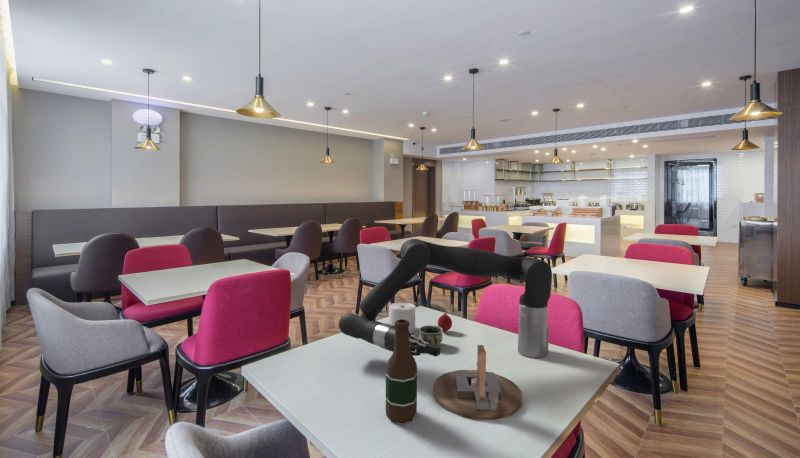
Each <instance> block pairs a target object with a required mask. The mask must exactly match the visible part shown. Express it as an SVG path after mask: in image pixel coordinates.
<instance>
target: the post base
mask: <svg viewBox="0 0 800 458" xmlns="http://www.w3.org/2000/svg"><path fill="white" fill-rule="evenodd" d="M454 371H455V370H452V371H449V372H446V373H443V374H442V375H441V374H440V375H439V376H438V377H437V378H436V379H435V381H433V385H432V395H433V398H434V401H435V402H436V403H437V404H438V405H439V406H440V407H441V408H443V409H444V410H446V411H448V412H449V413H450V412H451V414H455V415H457V416H460V417H464V418H466V419H467V418H468V419H473V420H481V421H482V420H483V421H487V420H489V421H491V420H499V419H505V418H508V417H511V416H512V415H515V414H516V413H517V412H518V411H519V410H520V409H521V407H522V405H523V392H522V390H521V389H520V387H519V386H518V385H517V384H516V383H515V382H513V381H512V380H510V379H508V378H507V377H505V376H502V375H500V374H497V373H495V376H496V378H497V381H498V383H499V386H500V388H501V391H502V400H498V393H497V392H495V391H490V392H488V401H489V411H485V410H477V409H476V405H475V401H474V399H464V398H457V392H456V386H455V380H454ZM456 371H466V372H477V369H457V370H456ZM469 385H473V386H477V378H473V379H471V384H469Z"/></svg>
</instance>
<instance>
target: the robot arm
mask: <svg viewBox="0 0 800 458" xmlns="http://www.w3.org/2000/svg"><path fill="white" fill-rule="evenodd" d="M399 251H400V257H401V258H400V260H399V261H398V263H397V265H396V266H395V267H394V269H393V270H392V271H391V272H389V274H387V275H386V276H385V277H384V278H383V279H381V281H379V282H378V283H377V284H375V286H373V288H371V290H370V291H369V292H368V293H367V294H366V296H365V297H364V298H363V299H362V300H361V302H360V303H359V308H360V310H361V311H362V313H361V314H360V315H359V314H358V315H357V314H356V313H345V314H344V315H342V316H341V317H340V319H339V321H338V329H339V331H340V332H341V333H342V334H343V335H345V336H348V337H352V338H355V339H357V340H358V339H359V340H363V341H364V342H367V343H369V344H372V345H375V346H377V347H379V348H381V349H384V350H387V351H389V352H392V353H393V350H394V341H395V326H394V325H392V324H389V323H386V322H385V323H384V322H380V321H378V320H377V317H378V315H379V314H380V313H381V312H382V311H383V310H384V308H385V307H387V304H388V305H389V303H390V302H391V300H392V299H393V298H394V297H395V296H396V295H397V293H398V292H400V290H402V288H403V287H404V286H405V285H406V284H408V283H409V281H411V280H412V279H413V278H414V277H416V276H417V275H418V274H419V273H420V272H421V271H423V270H424V269H426V267H427V266H434V267H435V266H436V267H441V268H444V269H447V270H449V271H452V272H454V273H458V274H460V275H461V274H462V275H465V276H470V277H476V278H495V277H506V278H509V279H510V278H511V279H516V280H519V281H521V282H524V283H525V285H524V292H523V293H522V294H521V295H520V296H519V303H518V304H519V307H518V309H519V310H518V334H517V336H518V337H517V352H518V353H519V354H520V355H521V356H525V357H526V358H527V357H528V358H533V359H534V358H535V359H537V358H543V357H546V355H549V338H550V337H549V336H550V327H549V326H548V303H549V300H550V298H551V293H552V282H553V272H552V271H553V270H552V268H551V265H550V264H549V263H548V262H547V261H545V260H542V259H539V258H537V257H530V256H511V255H510V256H509V255H504V254H501V253H496V252H494V251H488V250H484V249H478V248H472V247H471V248H470V247H465V246H463V247H462V246H453V245H443V244H436V243H432V242H431V241H425V240H422V239H418V238H410V239H408V240H406V241H404V242H403V243H402V245H401V247H400V249H399ZM409 346H410V352H411V354H412V356H413V357H415V356H416V357H417V356H418V357H419V356H421V355H426V354H427V355H428V356H429V355H430V356H433V357H438V356H440V355H441V347H440V348H439V347H436V346H433V345H431V340H430V339H429V337H428V336H427V335H425V334H424V335H423V336H422V337H419V335H415V334H412V333H409Z"/></svg>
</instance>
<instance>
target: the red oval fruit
mask: <svg viewBox="0 0 800 458" xmlns="http://www.w3.org/2000/svg"><path fill="white" fill-rule="evenodd" d="M451 318H452V317H450V316H449V315H448V313H447V312H444V313H443V314H442V315H441V316H440V317H439V318H438V320H437V326H438V327H441V328H442V329H443V330H442V333H446V332H448V331H449V330H450V329H451V328H452V326H453V320H452V319H451Z"/></svg>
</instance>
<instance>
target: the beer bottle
mask: <svg viewBox="0 0 800 458" xmlns="http://www.w3.org/2000/svg"><path fill="white" fill-rule="evenodd" d="M409 325H410V324H409V321H407V320H403V319H401V320H397V321H396V322H395V324H394V326H395V341H394V350H393V352H392V354H391V355H390V357H389V359H388V361H387V364H386V365H385V417H387V418H388V420H389V421H390V422H391V423H396V424H401V425H403V424H406V423H410V422H414V419H415V417H416V415H417V413H418V412H417V409H418V365H417V362H416V359H415V356H412V354H411V352H410V346H409Z"/></svg>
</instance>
